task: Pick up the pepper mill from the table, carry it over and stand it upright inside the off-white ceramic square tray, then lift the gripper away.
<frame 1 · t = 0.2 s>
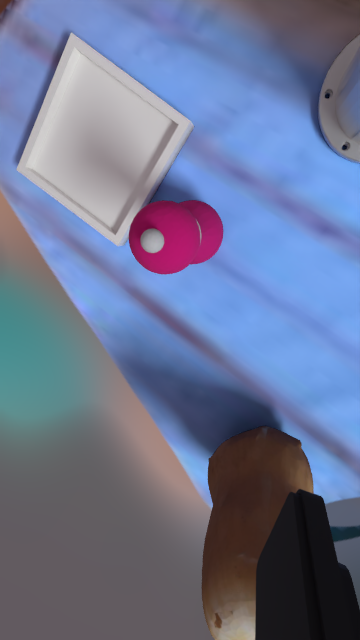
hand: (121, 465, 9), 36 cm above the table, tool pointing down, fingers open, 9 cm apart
pepper mill: (199, 231, 42), on the table
butternut squash: (259, 444, 49), on the table
tray: (104, 151, 42), on the table
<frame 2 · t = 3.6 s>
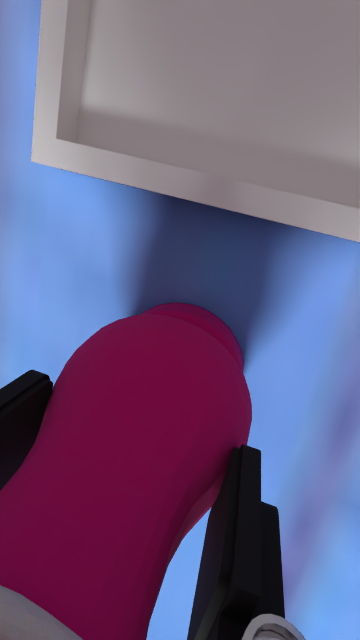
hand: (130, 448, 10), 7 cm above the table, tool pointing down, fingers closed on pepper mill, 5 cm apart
pepper mill: (181, 360, 16), on the table, touching gripper
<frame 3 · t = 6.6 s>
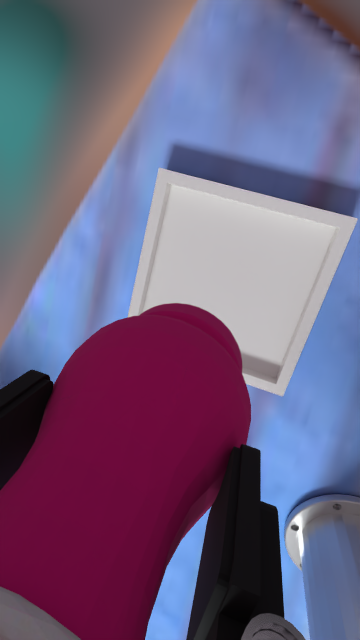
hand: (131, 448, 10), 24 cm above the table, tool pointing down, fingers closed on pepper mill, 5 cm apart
pepper mill: (180, 360, 16), point 17 cm above the table, touching gripper
tray: (226, 284, 32), on the table
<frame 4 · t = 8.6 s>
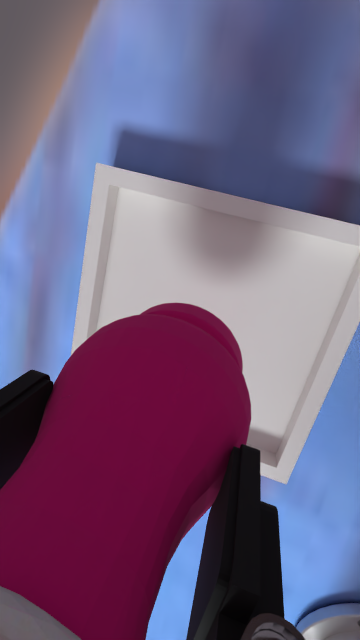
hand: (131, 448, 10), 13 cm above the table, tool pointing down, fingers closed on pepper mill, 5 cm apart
pepper mill: (180, 360, 16), point 7 cm above the table, touching gripper
tray: (204, 325, 23), on the table
when the fingers open (9 cm above the table, at t = 10.0 s): pepper mill drops 1 cm, resting on tray.
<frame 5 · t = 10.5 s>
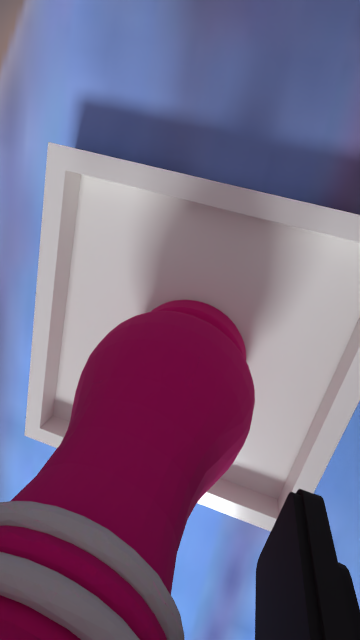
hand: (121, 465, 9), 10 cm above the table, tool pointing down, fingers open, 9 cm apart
pepper mill: (189, 352, 18), point 1 cm above the table, touching tray
tray: (189, 344, 18), on the table
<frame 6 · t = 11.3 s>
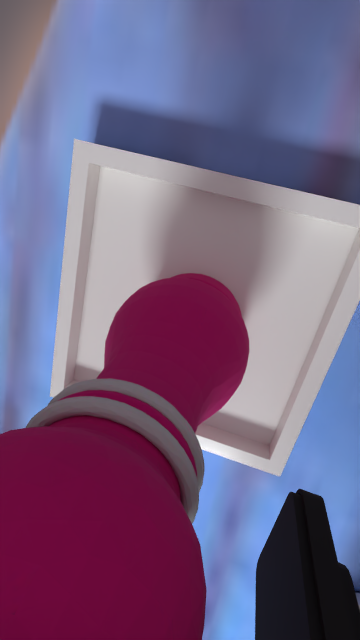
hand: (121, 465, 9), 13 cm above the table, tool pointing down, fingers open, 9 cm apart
pepper mill: (193, 319, 21), point 1 cm above the table, touching tray
tray: (193, 313, 21), on the table
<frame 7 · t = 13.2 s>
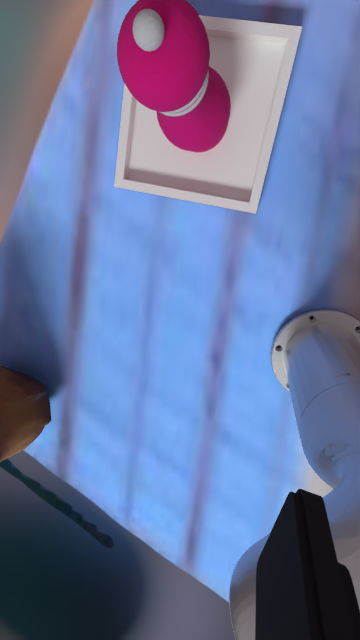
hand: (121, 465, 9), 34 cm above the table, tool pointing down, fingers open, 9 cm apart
pepper mill: (200, 122, 36), point 1 cm above the table, touching tray
butternut squash: (29, 387, 54), on the table
tray: (200, 121, 36), on the table
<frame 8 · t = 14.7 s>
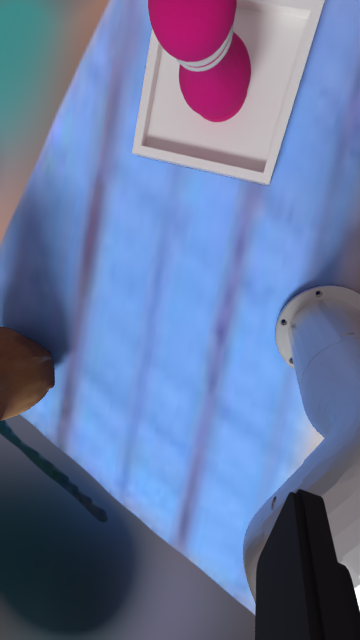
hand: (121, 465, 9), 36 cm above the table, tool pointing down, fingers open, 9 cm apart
pepper mill: (219, 92, 37), point 1 cm above the table, touching tray
butternut squash: (34, 354, 55), on the table
tray: (219, 92, 37), on the table
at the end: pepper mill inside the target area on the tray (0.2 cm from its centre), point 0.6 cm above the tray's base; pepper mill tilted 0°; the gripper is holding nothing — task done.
